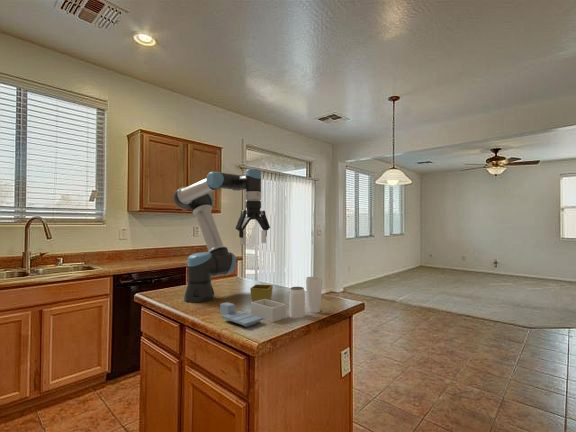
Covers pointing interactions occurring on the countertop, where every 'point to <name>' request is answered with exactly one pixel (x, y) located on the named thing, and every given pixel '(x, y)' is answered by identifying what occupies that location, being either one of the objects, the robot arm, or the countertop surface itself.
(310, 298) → the drinking glass
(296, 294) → the can
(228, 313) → the lid
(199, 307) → the countertop surface
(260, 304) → the tub
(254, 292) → the flower pot
